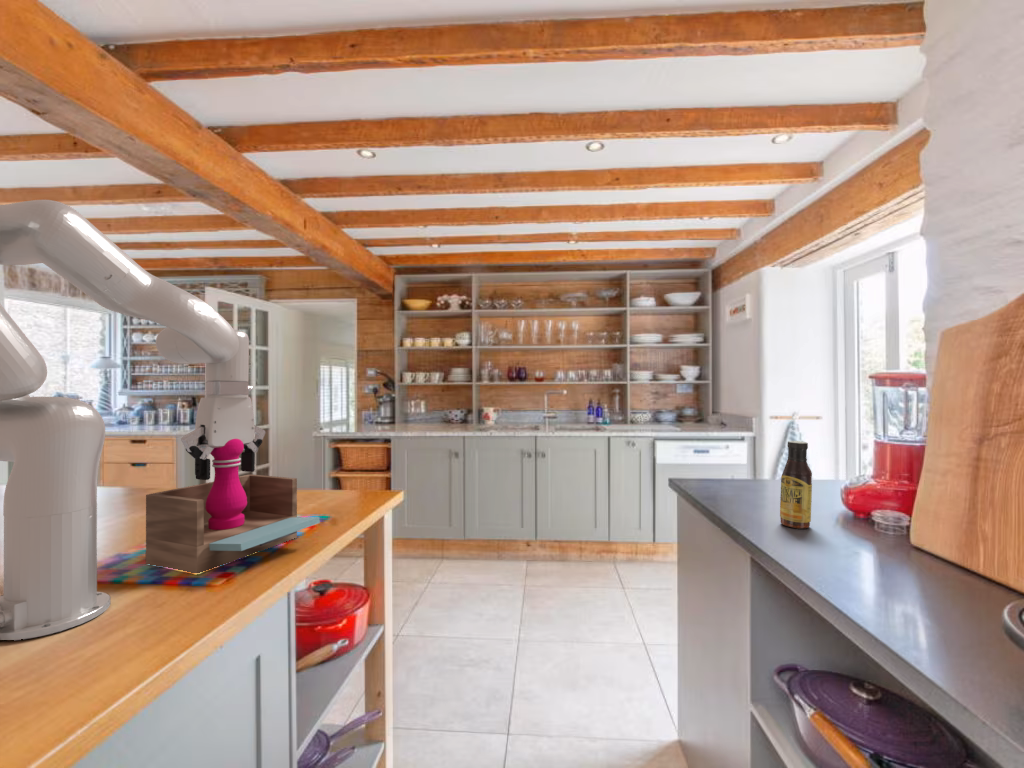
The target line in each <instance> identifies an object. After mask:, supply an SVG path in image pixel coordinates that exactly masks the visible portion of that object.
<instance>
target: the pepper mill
mask: <svg viewBox="0 0 1024 768" xmlns="http://www.w3.org/2000/svg"><path fill="white" fill-rule="evenodd" d="M243 449H244V444H243V442H242V441H241V440H240V439H232V440H229V441H228V442H227V443H226V444H225V445H224V446H223V447H221V448H214V449H213V450H212V452H211V453H210V454H209V455H211V456H212V457H213V458H214V459H212V461H211V462H212V464H211V466H212V467H213V468H214V477H213V481H212V482H213V486H212V488H211V490H210V492H209V494H208V497H207V500H206V506H205V509H206V511H207V512H208V513H209V514H210V515H211V516H212V517H211V518H209V520H208V528H209V529H211V530H226V529H232V528H236V527H239V526H241V525H243V524H244V514H242V513H241V512H242V511H243V510H244V509H245V507H246V506H247V497H246V493H245V491H244V489H243V487H242V485H241V483H240V480H239V466H241V454H242V452H244V450H243Z"/></svg>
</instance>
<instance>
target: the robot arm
mask: <svg viewBox="0 0 1024 768" xmlns="http://www.w3.org/2000/svg"><path fill="white" fill-rule="evenodd" d="M108 237H109V236H108ZM108 237H107V236H106V235H105V234H104V233H103V232H102V231H101V230H100V229H99V228H97V227H96V226H95V225H94V224H93V223H92V222H91V221H89V220H88V219H87V218H86V217H85V216H83V215H82V214H81V213H80V212H79V211H77V210H76V209H74V207H71V206H70V205H68V204H66V203H63V202H61V201H56V200H51V199H34V200H25V201H20V202H14V203H8V204H0V265H1V266H3V265H6V266H27V265H36V264H42V265H45V266H46V267H48V268H49V269H51V271H53V272H55V273H56V274H57V275H59V276H61V278H63V279H64V280H66V281H67V282H69V284H71V285H73V286H74V287H76V289H78V290H79V291H81V292H82V293H83V294H84V295H86V296H88V297H89V298H90V299H92V300H93V301H94V302H95V303H97V304H98V305H99V306H101V308H105V310H109V311H111V312H115V313H118V314H121V315H124V316H127V317H132V318H138V319H142V320H145V321H150V322H152V323H153V322H154V323H156V324H159V325H162V326H164V327H165V328H163V329H162V330H161V331H159V333H158V334H157V335H156V338H155V346H156V347H155V348H156V350H157V352H158V353H159V355H160V356H161V357H163V358H164V359H165V360H167V361H169V362H172V363H175V364H179V365H181V364H182V365H193V364H194V365H195V364H196V365H197V364H205V367H204V368H205V372H204V373H205V378H204V379H205V380H204V381H205V383H204V384H205V385H204V388H205V389H204V390H205V392H204V394H205V396H204V397H200V400H199V404H198V408H197V410H196V411H197V412H196V415H195V427H194V430H192V431H191V432H188V433H187V434H185V435H183V436H181V438H180V441H181V442H182V445H183V447H184V448H185V451H186V452H187V453H188V454H189V455H190V456H191V458H192V459H194V475H195V480H200V481H209V480H210V479H211V459H210V458H208V457H209V456H210V455H211V454H210V453H211V452H212V450H213V449H214V448H221V447H223V446H224V445H225V444H226V443H227V442H228V441H229V440H232V439H240V440H241V441H242V442H243V444H244V449H243V452H242V453H241V454H240V458H241V460H240V463H241V464H240V471H242V472H246V473H247V472H248V473H252V472H255V468H256V467H255V464H256V463H255V462H256V456H255V455H256V453H258V451H259V448H260V447H261V444H263V440H264V437H265V435H266V430H264V429H263V428H260V427H259V426H257V425H255V415H254V407H253V402H252V399H251V397H250V396H249V392H252V390H253V386H252V384H251V385H250V383H249V375H250V374H249V373H250V372H249V371H250V369H249V367H250V366H249V365H250V364H249V363H250V359H249V358H250V355H249V352H250V339H249V335H248V333H246V332H245V331H243V330H237V329H234V328H233V327H232V325H231V324H230V323H229V321H227V320H226V319H225V318H224V317H223V316H222V315H221V314H220V313H219V312H218V311H217V310H216V309H214V308H213V307H212V306H211V305H210V304H208V303H207V302H205V301H204V300H202V298H200V297H197V296H196V295H194V294H192V293H190V292H188V291H186V290H185V289H183V288H180V287H179V286H177V285H174V284H173V283H170V282H169V281H166V280H164V279H162V278H160V277H157V276H155V275H154V274H152V273H151V272H148V271H147V270H146V269H144V268H143V267H142V266H141V265H140V264H138V263H137V262H136V261H135V260H134V259H133V258H132V257H131V256H129V255H128V254H127V253H126V252H125V251H124V250H123V249H122V248H120V247H119V246H118V245H116V243H114V242H113V241H112V240H111V239H110V238H108ZM47 377H48V368H47V363H46V361H45V359H44V357H43V356H42V354H41V353H40V352H39V350H38V348H36V346H35V345H34V344H33V343H32V341H31V340H30V339H29V338H28V336H27V335H26V334H25V333H24V332H23V330H22V329H21V328H20V327H19V325H18V324H17V323H16V321H15V320H14V319H13V318H12V317H11V315H10V314H9V313H8V312H7V311H6V309H5V308H4V306H3V305H2V304H1V303H0V462H7V463H8V462H9V463H10V462H11V463H13V465H12V468H11V471H10V474H9V476H8V479H7V482H6V485H5V488H4V489H5V490H4V496H3V505H2V506H3V507H2V508H3V510H2V511H3V512H2V513H3V516H2V517H3V595H0V640H14V641H22V640H21V639H23V640H28V639H34V638H38V637H39V638H40V637H43V636H48V635H52V634H55V633H60V632H63V631H65V630H69V629H72V628H74V627H76V626H79V625H80V626H81V625H83V624H86V623H87V622H89V621H91V620H94V619H95V618H96V617H98V616H100V615H102V614H103V613H105V612H106V611H107V610H108V609H109V607H110V606H111V596H110V595H109V593H108V594H107V593H106V592H103V591H98V500H97V499H98V476H99V467H100V460H101V456H102V453H103V448H104V444H105V440H106V424H105V421H104V419H103V417H102V415H101V414H100V412H99V411H98V410H97V409H96V408H95V407H94V406H92V405H90V404H89V403H87V402H84V401H82V400H79V399H76V398H72V397H66V396H65V397H64V396H30V395H31V394H33V393H35V392H37V391H38V389H40V388H41V387H42V386H43V384H44V383H45V381H46V379H47Z"/></svg>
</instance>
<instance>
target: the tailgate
mask: <svg viewBox="0 0 1024 768" xmlns="http://www.w3.org/2000/svg"><path fill="white" fill-rule="evenodd" d="M320 521H321V520H320V517H319V516H311V517H309V516H308V517H305V516H304V517H301V516H300V517H299V516H297V517H292V518H288V519H284V520H281V521H278V522H275V523H272V524H269V525H266V526H263V527H259V528H256V529H253V530H250V531H247V532H244V533H241V534H238V535H235V536H231V537H228V538H225V539H222V540H219V541H216V542H213V543H210V544H209V548H210V550H215V551H243V550H246V549H248V548H251V547H254V546H257V545H260V546H262V545H265V544H267V543H270V542H273V541H276V540H278V539H281V538H284V537H287V536H289V535H292V534H295V533H297V534H298V531H301V530H304V529H306V528H309V527H312V526H315V525H317V524H321V523H320Z"/></svg>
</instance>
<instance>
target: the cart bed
mask: <svg viewBox="0 0 1024 768" xmlns="http://www.w3.org/2000/svg"><path fill="white" fill-rule="evenodd" d="M239 480H240V483H241V485H242V487H243V489H244V491H245V493H246V497H247V506H246V507H245V509H244V510H243V511H242V512H241V513H242V514H244V524H243V525H241V526H239V527H236V528H232V529H226V530H211V529H209V528H208V520H209V518H211V517H212V516H211V515H210V514H209V513H208V512H207V511H206V509H205V506H206V500H207V497H208V494H209V492H210V490H211V488H212V486H213V482H214V481H209V482H204V483H201V484H200V483H199V484H193V485H190V486H189V485H188V486H184V487H179V488H178V487H177V488H173V489H169V490H164V491H158V492H155V493H154V492H153V493H147V494H145V565H146V564H150V565H156V566H163V567H168V568H173V569H178V570H183V571H187V572H191V573H200V572H203V571H206V570H209V569H212V568H214V567H217V566H220V565H223V564H226V563H229V562H232V561H234V560H237V559H239V558H242V557H245V556H247V555H250V554H253V553H255V552H258V551H261V552H263V551H266V550H269V549H271V548H274V547H276V546H275V545H277V546H279V545H282V544H284V543H283V542H285V543H287V542H289V540H290V541H292V540H291V539H293V540H295V539H297V538H298V532H297V533H295V534H292V535H289V536H287V537H284V538H281V539H278V540H276V541H273V542H270V543H267V544H265V545H262V546H260V545H257V546H254V547H251V548H248V549H246V550H243V551H215V550H210V548H209V544H210V543H213V542H216V541H219V540H222V539H225V538H228V537H231V536H235V535H238V534H241V533H244V532H247V531H250V530H253V529H256V528H259V527H263V526H266V525H269V524H272V523H275V522H278V521H281V520H284V519H288V518H292V517H298V478H296V477H283V476H273V475H262V474H251V473H250V474H246V475H241V476H239ZM294 538H295V539H294ZM286 541H287V542H286ZM281 543H282V544H281ZM278 544H279V545H278ZM273 546H274V547H273ZM270 547H271V548H270ZM268 548H269V549H268ZM265 549H266V550H265ZM262 550H263V551H262ZM258 553H259V552H258ZM255 554H256V553H255ZM253 555H254V554H253ZM250 556H251V555H250ZM245 558H246V557H245ZM242 559H243V558H242ZM237 561H238V560H237ZM234 562H235V561H234ZM232 563H233V562H232ZM229 564H230V563H229ZM150 565H149V566H150ZM226 565H227V564H226Z"/></svg>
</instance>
